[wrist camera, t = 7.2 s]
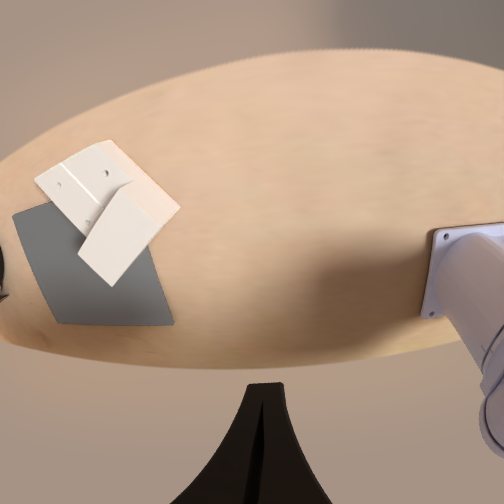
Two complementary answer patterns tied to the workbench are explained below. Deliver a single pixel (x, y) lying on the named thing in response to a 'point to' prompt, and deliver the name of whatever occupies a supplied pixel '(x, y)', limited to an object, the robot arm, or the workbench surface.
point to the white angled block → (108, 206)
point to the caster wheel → (1, 273)
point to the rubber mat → (87, 276)
